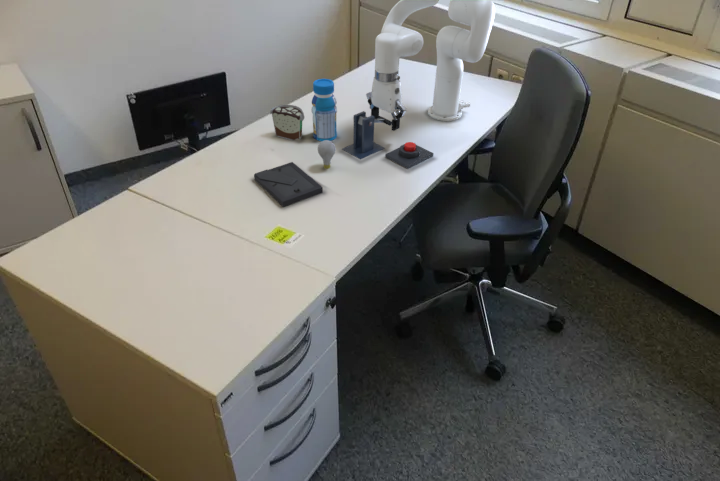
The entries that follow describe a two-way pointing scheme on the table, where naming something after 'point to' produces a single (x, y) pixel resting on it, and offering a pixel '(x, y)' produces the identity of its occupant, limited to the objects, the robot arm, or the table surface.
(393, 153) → the button housing
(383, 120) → the switch lever
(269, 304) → the table surface
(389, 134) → the table surface
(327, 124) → the beverage bottle
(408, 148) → the stop button
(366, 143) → the switch bracket
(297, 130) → the food container
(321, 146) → the light bulb
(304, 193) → the picture frame
